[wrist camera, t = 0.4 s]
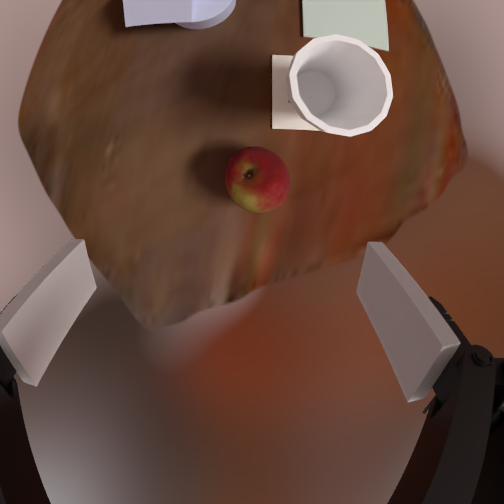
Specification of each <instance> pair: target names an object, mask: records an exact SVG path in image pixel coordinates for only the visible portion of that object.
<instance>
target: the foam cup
mask: <svg viewBox="0 0 504 504" xmlns="http://www.w3.org/2000/svg"><path fill="white" fill-rule="evenodd" d="M286 84H287V92H288V99H289V101H290V103H291V104H292V106H293V107H294V109H295V110H296V111H297V112H298V114H299V115H300V117H301V118H302V119H303V120H305V121H306V122H308V123H309V124H311V125H312V126H314V127H315V128H317V129H318V130H320V131H323V132H327V133H333V134H338V135H344V136H349V137H351V136H354V135H358V134H361V133H365V132H369V131H371V130H373V129H374V128H375V127H376V126H377V125H378V124H379V123H380V122H381V121H382V120H383V119H384V118H385V117H386V116H387V113H388V110H389V107H390V104H391V101H392V98H393V92H392V83H391V75H390V73H389V71H388V70H387V68H386V66H385V64H384V63H383V61H382V59H381V58H380V56H379V54H377V53H376V52H375V51H374V50H372V49H371V48H370V47H368V46H367V45H366V44H364V43H363V42H362V41H360V40H358V39H354V38H350V37H346V36H342V35H338V34H334V35H329V36H324V37H319V38H314V39H313V40H312V41H310V42H309V43H308V44H307V45H305V46H304V47H303V48H302V49H301V50H300V51H298V52H297V53H296V54H295V56H294V57H293V58H292V61H291V64H290V66H289V69H288V72H287V75H286Z"/></svg>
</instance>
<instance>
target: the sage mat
mask: <svg viewBox="0 0 504 504" xmlns="http://www.w3.org/2000/svg"><path fill="white" fill-rule="evenodd" d="M302 13H303V37H308V38H319V37H324V36H329V35H334V34H338V35H342V36H346V37H350V38H354V39H358V40H360V41H362V42H363V43H364V44H366V45H367V46H368V47H371V48H376V49H380V50H384V51H389V44H388V28H387V16H386V6H385V0H302Z"/></svg>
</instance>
